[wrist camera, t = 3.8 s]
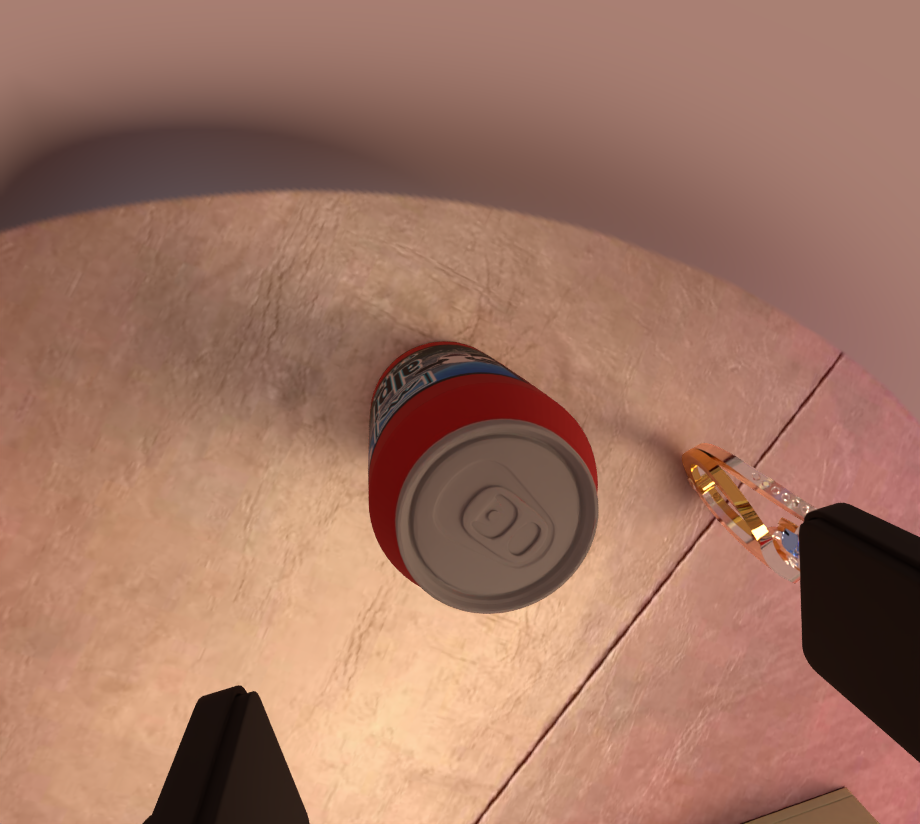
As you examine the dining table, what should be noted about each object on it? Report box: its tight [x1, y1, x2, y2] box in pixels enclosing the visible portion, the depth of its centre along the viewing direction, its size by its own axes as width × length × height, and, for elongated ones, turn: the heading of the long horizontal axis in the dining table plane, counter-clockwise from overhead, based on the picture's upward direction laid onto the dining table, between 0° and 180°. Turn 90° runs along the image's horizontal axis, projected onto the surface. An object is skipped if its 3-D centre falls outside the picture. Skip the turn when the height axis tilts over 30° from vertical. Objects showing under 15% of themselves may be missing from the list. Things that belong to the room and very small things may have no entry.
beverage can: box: [368, 342, 598, 614], centre depth 19 cm, size 7×7×12 cm
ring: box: [682, 443, 817, 584], centre depth 24 cm, size 7×3×8 cm, turn 33°
